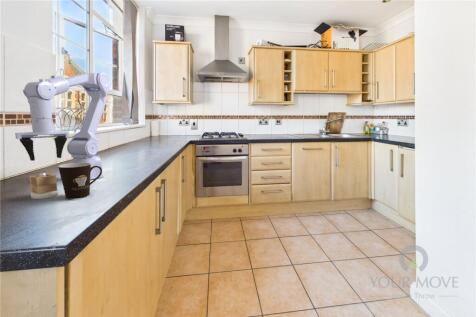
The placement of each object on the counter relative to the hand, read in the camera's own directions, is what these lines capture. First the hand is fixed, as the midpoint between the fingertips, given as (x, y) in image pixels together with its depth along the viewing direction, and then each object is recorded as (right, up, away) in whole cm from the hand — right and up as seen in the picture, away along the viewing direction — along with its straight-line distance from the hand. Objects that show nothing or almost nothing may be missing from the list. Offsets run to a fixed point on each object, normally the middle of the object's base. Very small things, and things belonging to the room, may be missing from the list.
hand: (46, 159), depth 89 cm
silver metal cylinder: (+5, -10, -7) cm, 13 cm away
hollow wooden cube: (+5, -10, -7) cm, 13 cm away
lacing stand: (+5, -12, -7) cm, 14 cm away
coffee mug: (+17, -12, -6) cm, 21 cm away
